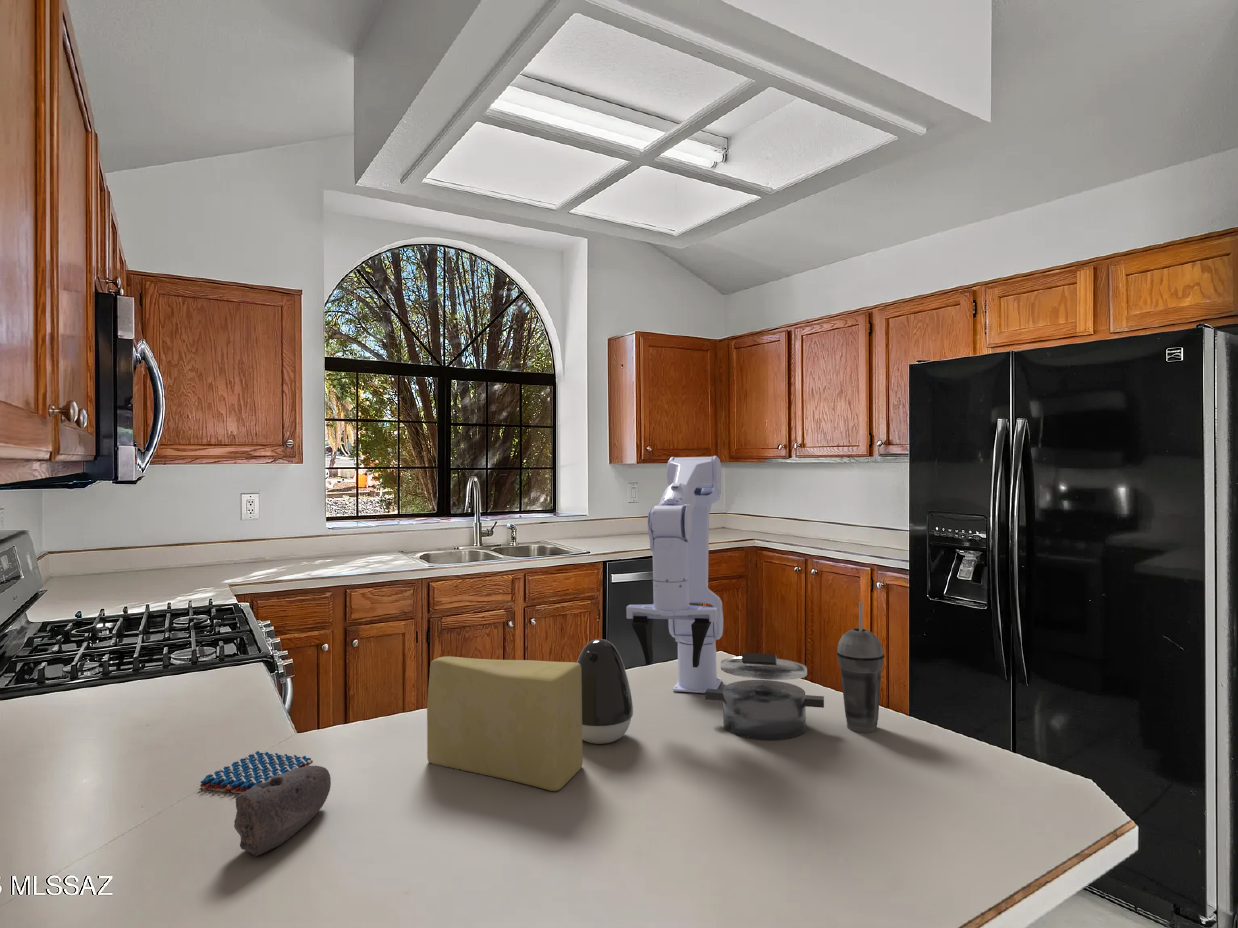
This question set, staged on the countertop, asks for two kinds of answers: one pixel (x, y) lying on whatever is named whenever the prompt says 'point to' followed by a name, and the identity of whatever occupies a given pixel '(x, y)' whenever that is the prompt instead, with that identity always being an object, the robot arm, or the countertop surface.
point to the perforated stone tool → (280, 807)
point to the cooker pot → (764, 708)
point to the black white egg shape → (604, 693)
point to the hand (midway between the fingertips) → (672, 664)
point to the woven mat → (252, 771)
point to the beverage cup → (861, 677)
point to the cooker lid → (763, 667)
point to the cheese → (506, 719)
